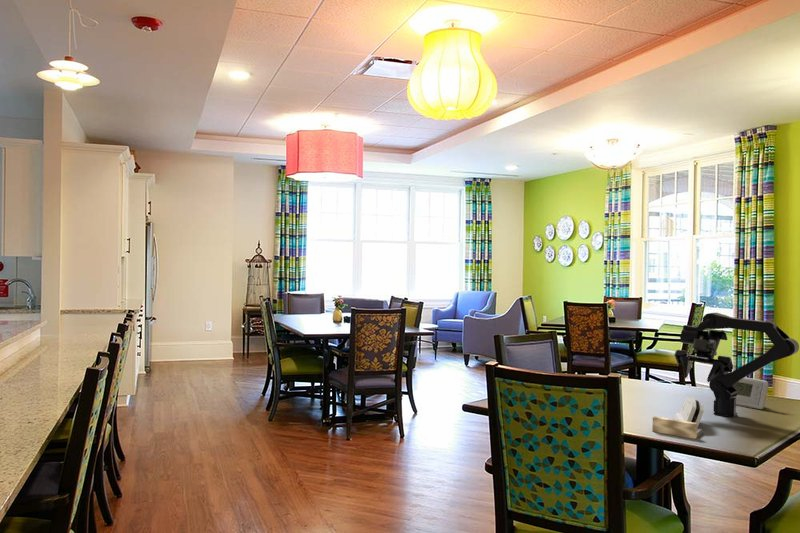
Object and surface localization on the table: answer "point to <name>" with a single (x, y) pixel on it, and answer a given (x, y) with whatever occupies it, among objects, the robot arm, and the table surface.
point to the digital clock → (751, 392)
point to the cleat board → (676, 427)
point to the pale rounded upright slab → (690, 411)
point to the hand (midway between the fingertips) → (696, 379)
